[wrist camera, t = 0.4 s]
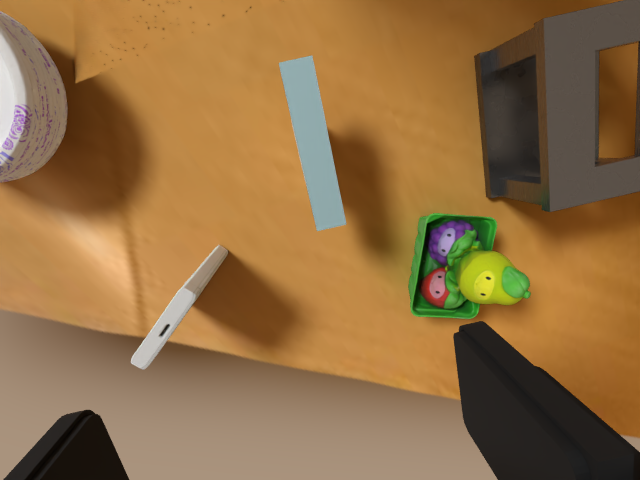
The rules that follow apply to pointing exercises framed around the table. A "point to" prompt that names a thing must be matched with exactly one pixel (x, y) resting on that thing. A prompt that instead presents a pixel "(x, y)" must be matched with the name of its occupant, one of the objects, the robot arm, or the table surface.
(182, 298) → the hard drive
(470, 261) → the fruit basket
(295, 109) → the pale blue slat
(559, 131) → the gray open box frame
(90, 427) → the robot arm
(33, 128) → the paper bowls
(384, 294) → the table surface
